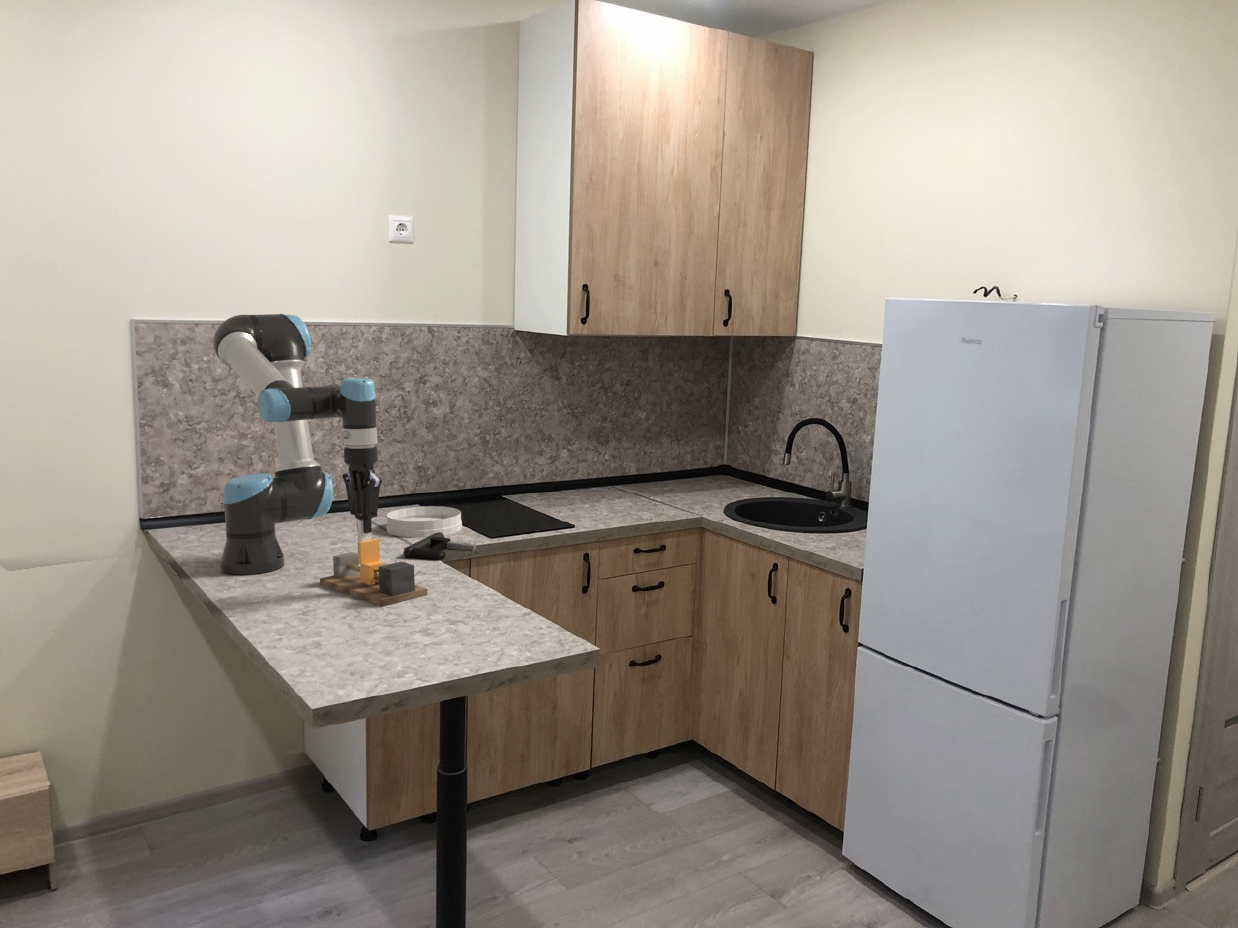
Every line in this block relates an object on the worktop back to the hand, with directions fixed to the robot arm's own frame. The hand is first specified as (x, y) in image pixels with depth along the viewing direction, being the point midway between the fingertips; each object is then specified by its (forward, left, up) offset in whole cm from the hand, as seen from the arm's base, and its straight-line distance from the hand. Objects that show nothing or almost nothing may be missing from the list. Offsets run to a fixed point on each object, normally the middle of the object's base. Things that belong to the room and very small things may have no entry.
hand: (365, 546), depth 228 cm
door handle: (-16, +34, -11) cm, 39 cm away
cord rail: (+2, 0, -10) cm, 10 cm away
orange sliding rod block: (+3, 0, -8) cm, 9 cm away
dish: (-42, +47, -11) cm, 64 cm away
